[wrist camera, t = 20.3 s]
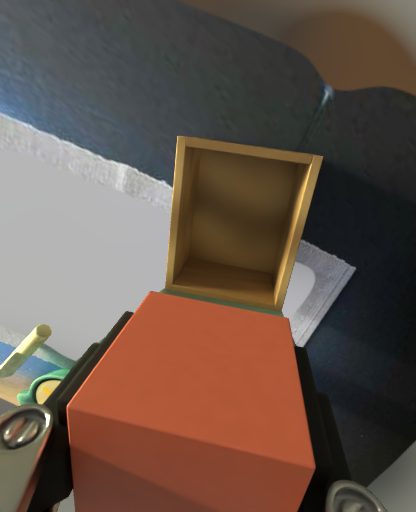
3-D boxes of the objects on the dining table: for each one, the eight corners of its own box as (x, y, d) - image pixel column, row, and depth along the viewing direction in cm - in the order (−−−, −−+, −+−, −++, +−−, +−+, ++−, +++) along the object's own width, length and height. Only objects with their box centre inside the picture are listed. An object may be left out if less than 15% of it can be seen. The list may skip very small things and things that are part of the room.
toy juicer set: (175, 369, 47) (160, 410, 40) (140, 434, 54) (122, 479, 47) (15, 293, 46) (-29, 320, 39) (1, 368, 54) (-38, 403, 46)
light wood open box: (197, 137, 33) (177, 135, 25) (307, 153, 32) (323, 156, 24) (184, 259, 39) (164, 289, 31) (276, 276, 38) (281, 313, 30)
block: (150, 289, 10) (64, 406, 6) (289, 317, 9) (317, 468, 5) (144, 391, 12) (76, 540, 7) (260, 419, 11) (262, 595, 7)
